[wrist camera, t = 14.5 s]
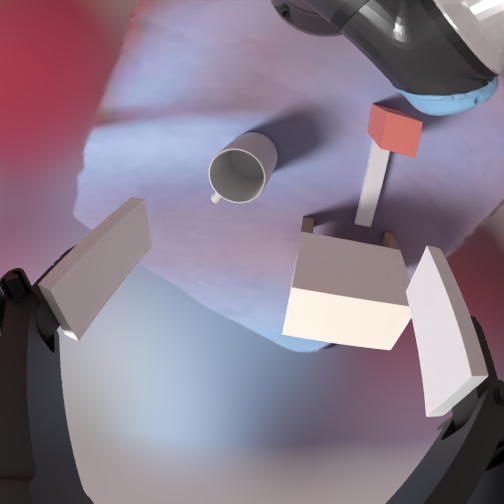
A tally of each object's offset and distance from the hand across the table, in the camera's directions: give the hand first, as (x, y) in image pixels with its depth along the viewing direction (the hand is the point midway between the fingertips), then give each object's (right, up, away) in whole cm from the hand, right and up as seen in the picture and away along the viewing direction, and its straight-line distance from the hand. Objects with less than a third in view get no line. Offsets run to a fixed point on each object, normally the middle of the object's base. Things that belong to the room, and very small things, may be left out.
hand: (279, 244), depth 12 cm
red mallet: (+20, +14, +31) cm, 39 cm away
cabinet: (+17, +1, +41) cm, 44 cm away
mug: (-2, +16, +36) cm, 39 cm away
